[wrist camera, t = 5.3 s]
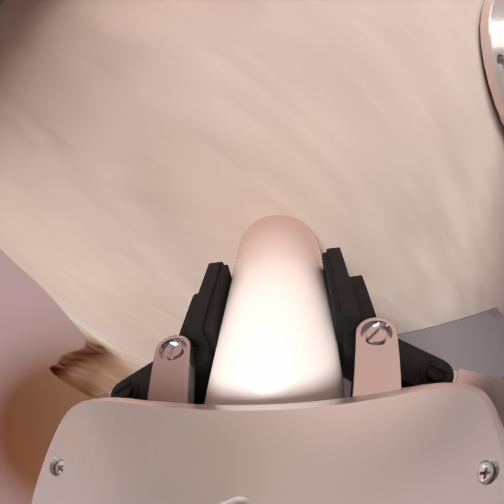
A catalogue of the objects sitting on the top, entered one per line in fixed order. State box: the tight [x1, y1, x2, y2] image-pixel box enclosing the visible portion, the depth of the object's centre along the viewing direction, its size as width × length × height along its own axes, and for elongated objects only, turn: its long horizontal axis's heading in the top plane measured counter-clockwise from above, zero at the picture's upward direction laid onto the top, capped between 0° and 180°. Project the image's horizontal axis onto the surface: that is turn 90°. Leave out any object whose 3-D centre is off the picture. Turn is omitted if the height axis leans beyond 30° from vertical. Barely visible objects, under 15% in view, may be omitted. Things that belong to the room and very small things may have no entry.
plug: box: [204, 215, 345, 405], centre depth 10 cm, size 4×4×10 cm
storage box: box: [342, 308, 504, 398], centre depth 22 cm, size 21×23×6 cm
